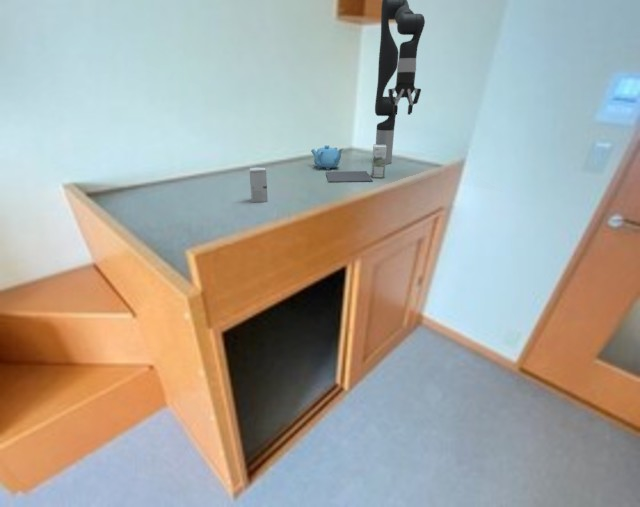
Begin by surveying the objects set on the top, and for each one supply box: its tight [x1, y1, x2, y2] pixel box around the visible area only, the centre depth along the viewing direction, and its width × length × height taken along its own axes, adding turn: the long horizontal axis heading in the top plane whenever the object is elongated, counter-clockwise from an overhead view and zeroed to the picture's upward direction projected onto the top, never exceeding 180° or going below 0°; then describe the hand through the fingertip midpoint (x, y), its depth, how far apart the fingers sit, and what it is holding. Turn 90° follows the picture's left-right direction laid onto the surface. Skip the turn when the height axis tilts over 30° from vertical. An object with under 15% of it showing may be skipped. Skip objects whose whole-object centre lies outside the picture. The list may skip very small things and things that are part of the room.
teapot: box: [310, 144, 344, 171], centre depth 180 cm, size 15×14×11 cm
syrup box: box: [371, 143, 387, 179], centre depth 162 cm, size 6×6×14 cm
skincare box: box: [248, 166, 269, 203], centre depth 131 cm, size 6×4×12 cm
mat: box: [325, 170, 374, 184], centre depth 165 cm, size 18×20×1 cm
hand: (402, 114), depth 154 cm, fingers open, 5 cm apart
